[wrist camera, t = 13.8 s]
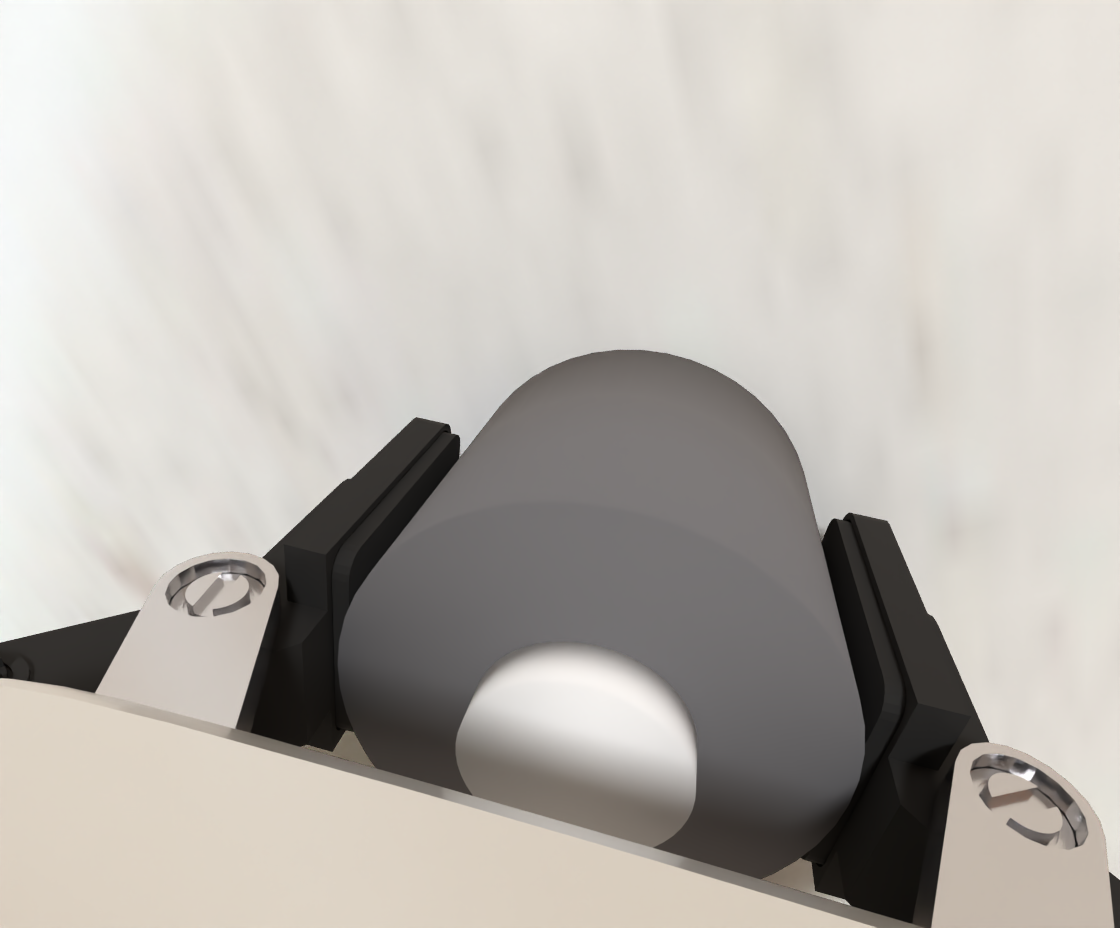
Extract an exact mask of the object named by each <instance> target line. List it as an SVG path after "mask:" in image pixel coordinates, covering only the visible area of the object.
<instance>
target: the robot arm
mask: <svg viewBox="0 0 1120 928" xmlns="http://www.w3.org/2000/svg"><path fill="white" fill-rule="evenodd" d="M459 452H460V437H459V435H456V434H451V429H450V426H449V424H444V423H440V422H435V421H431V420H426V419H422V418H417V417H416V418H415V419H413V420H412V421H411V422H410V423H409V424H408V425H407V426H406V427H405V428H404V429H403V430H402V431H401V432H400V433H398V434H397V435H396V436H395V437H394V438H393V439H392V440H391V441H390V442H389V443H388V444H387V445H386V446H385V447H384V448H383V449H382V450H381V451H380V452H379V453H378V454H377V455H376V456H375V457H374V458H372V459H371V460H370V461H369V462H368V463H367V464H366V465H365V466H364V467H363V468H362V469H361V470H360V471H359V472H358V473H357V474H356V475H355V476H354V477H353V478H352V479H346V480H345V481H343V482H342V483H341V484H340V485H339V486H338V487H336V488H335V489H334V490H333V491H332V492H331V493H330V494H329V495H328V496H327V497H326V498H325V499H324V500H323V501H322V502H321V503H320V504H319V505H317V506H316V507H315V508H314V509H313V510H312V511H311V512H310V513H309V514H308V515H307V516H306V517H305V518H304V519H303V520H302V521H301V522H300V523H298V524H297V525H296V526H295V527H294V528H293V529H292V530H291V531H290V532H289V533H288V534H287V535H286V536H285V537H284V538H283V539H282V540H280V541H279V542H278V543H277V544H276V545H275V546H274V547H273V548H272V549H271V550H270V551H269V552H268V553H267V554H266V555H265V556H264V557H263V558H261V557H258V556H255V555H252V554H249V553H240V552H220V553H211V554H207V555H203V556H199V557H194V558H192V559H190V560H187V561H185V562H183V563H180V564H178V565H176V566H175V567H173V568H172V569H171V570H169V571H168V572H166V573H165V574H163V575H162V577H161V578H160V579H159V580H158V581H157V583H156V584H155V585H154V586H153V588H152V590H151V592H150V594H149V596H148V597H147V599H146V601H145V603H144V605H143V607H142V608H141V610H138V611H133V612H129V613H125V614H121V615H116V616H112V617H108V618H104V619H99V620H95V621H91V622H87V623H82V624H78V625H74V626H70V627H65V628H61V629H57V630H53V631H48V632H44V633H40V634H36V635H31V636H27V637H23V638H19V639H14V640H10V641H6V642H2V643H0V928H1120V880H1119V879H1118V878H1116V877H1115V876H1114V875H1113V874H1111V873H1110V872H1109V869H1108V859H1107V849H1106V839H1105V835H1104V832H1103V829H1102V825H1101V822H1100V820H1099V818H1098V817H1097V815H1096V814H1095V812H1094V810H1093V809H1092V807H1091V806H1090V804H1089V803H1088V801H1087V800H1086V799H1085V798H1084V797H1083V796H1082V795H1081V794H1080V793H1079V792H1078V791H1077V790H1076V789H1075V787H1074V786H1073V785H1072V784H1071V783H1070V782H1068V781H1067V780H1066V779H1065V778H1063V777H1062V776H1061V775H1059V774H1058V773H1057V772H1056V771H1054V770H1053V769H1052V768H1051V767H1049V766H1047V765H1046V764H1044V763H1042V762H1040V761H1039V760H1037V759H1035V758H1034V757H1032V756H1030V755H1028V754H1026V753H1023V752H1021V751H1018V750H1016V749H1013V748H1011V747H1008V746H1005V745H999V744H994V743H989V740H988V738H987V736H986V734H985V731H984V729H983V727H982V724H981V722H980V720H979V718H978V715H977V713H976V711H975V708H974V706H973V704H972V702H971V699H970V697H969V695H968V692H967V690H966V688H965V686H964V683H963V681H962V679H961V676H960V674H959V672H958V670H957V667H956V665H955V663H954V660H953V658H952V656H951V654H950V651H949V649H948V647H947V644H946V642H945V640H944V638H943V635H942V633H941V631H940V628H939V626H938V624H937V622H936V621H935V619H934V618H933V616H931V615H929V614H927V611H926V609H925V607H924V604H923V602H922V600H921V597H920V595H919V593H918V590H917V588H916V585H915V583H914V581H913V578H912V576H911V574H910V571H909V569H908V567H907V564H906V562H905V560H904V557H903V555H902V553H901V550H900V548H899V546H898V543H897V541H896V539H895V536H894V534H893V532H892V529H891V527H890V524H889V523H888V522H887V521H885V520H880V519H876V518H871V517H867V516H862V515H858V514H853V513H848V514H847V515H846V516H845V517H844V519H843V520H839V519H833V520H832V521H831V522H830V524H829V526H828V528H827V530H826V533H825V536H824V538H823V541H822V543H821V544H822V548H823V552H824V556H825V560H826V564H827V568H828V572H829V576H830V580H831V584H832V588H833V592H834V596H835V600H836V604H837V608H838V612H839V616H840V620H841V625H842V629H843V633H844V637H845V641H846V645H847V649H848V653H849V657H850V661H851V665H852V669H853V673H854V677H855V681H856V685H857V689H858V693H859V697H860V703H861V708H862V714H863V719H864V724H865V755H864V760H863V765H862V770H861V774H860V779H859V782H858V785H857V787H856V789H855V792H854V794H853V796H852V799H851V801H850V804H849V805H848V807H847V808H846V810H845V811H844V813H843V814H842V816H841V817H840V819H839V821H838V822H837V824H836V825H835V826H834V827H833V828H832V830H831V831H830V832H829V833H828V834H827V835H826V836H825V837H824V838H823V839H822V840H821V841H820V842H819V843H818V844H817V845H816V846H815V847H814V848H812V849H811V850H810V851H808V852H807V853H806V854H804V855H803V856H802V857H801V858H802V859H804V860H807V861H811V862H812V869H813V877H814V885H815V891H817V892H821V893H824V894H828V895H831V896H835V897H838V898H842V899H845V900H846V901H847V902H848V903H849V904H850V905H851V906H849V905H846V904H842V903H839V902H835V901H832V900H829V899H825V898H822V897H818V896H815V895H812V894H808V893H805V892H801V891H798V890H795V889H791V888H788V887H784V886H781V885H778V884H774V883H771V882H768V881H764V880H761V879H757V878H754V877H751V876H747V875H744V874H740V873H737V872H734V871H730V870H727V869H723V868H720V867H717V866H713V865H710V864H706V863H703V862H700V861H696V860H693V859H689V858H686V857H683V856H679V855H676V854H672V853H669V852H665V851H662V850H658V849H655V848H651V847H648V846H645V845H641V844H638V843H634V842H631V841H627V840H624V839H620V838H617V837H614V836H610V835H607V834H603V833H600V832H596V831H593V830H589V829H586V828H582V827H579V826H576V825H572V824H569V823H565V822H562V821H558V820H555V819H551V818H548V817H544V816H541V815H537V814H534V813H530V812H527V811H524V810H520V809H517V808H513V807H510V806H506V805H503V804H499V803H496V802H492V801H489V800H485V799H482V798H478V797H475V796H471V795H468V794H464V793H461V792H457V791H454V790H450V789H447V788H444V787H440V786H437V785H433V784H430V783H426V782H422V781H419V780H415V779H412V778H408V777H405V776H401V775H398V774H394V773H391V772H387V771H383V770H380V769H376V768H373V767H369V766H366V765H362V764H359V763H355V762H352V761H348V760H345V759H341V758H337V757H334V756H330V755H327V754H323V753H320V752H316V751H313V750H309V749H306V748H302V747H301V746H304V745H310V746H314V747H317V748H321V749H324V750H328V751H331V752H333V750H334V748H335V747H336V745H337V743H338V742H339V740H340V739H341V737H342V735H343V734H344V732H345V730H348V731H352V732H354V730H353V727H352V725H351V723H350V720H349V718H348V715H347V713H346V709H345V706H344V702H343V698H342V694H341V690H340V683H339V673H338V651H339V639H340V635H341V631H342V627H343V623H344V619H345V616H346V613H347V611H348V609H349V607H350V604H351V602H352V600H353V598H354V596H355V594H356V592H357V591H358V589H359V588H360V586H361V585H362V583H363V582H364V581H365V579H366V578H367V576H368V575H369V573H370V572H371V571H372V569H373V568H374V567H375V566H376V564H377V563H378V562H379V560H380V559H381V558H382V557H383V555H384V554H385V553H386V551H387V550H388V549H389V548H390V546H391V545H392V544H393V543H394V541H395V540H396V539H397V537H398V536H399V535H400V534H401V532H402V531H403V530H404V528H405V527H406V526H407V525H408V523H409V522H410V521H411V520H412V518H413V517H414V516H415V514H416V513H417V512H418V511H419V509H420V508H421V507H422V505H423V504H424V503H425V502H426V500H427V499H428V498H429V496H430V495H431V494H432V493H433V491H434V490H435V489H436V488H437V486H438V485H439V484H440V482H441V481H442V480H443V479H444V477H445V476H446V475H447V473H448V472H449V471H450V470H451V468H452V467H453V466H454V465H455V463H456V462H457V461H458V459H459Z"/></svg>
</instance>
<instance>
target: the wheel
mask: <svg viewBox="0 0 1120 928" xmlns="http://www.w3.org/2000/svg"><path fill="white" fill-rule="evenodd" d="M338 673H339V683H340V690H341V694H342V698H343V702H344V706H345V709H346V713H347V715H348V718H349V720H350V723H351V725H352V727H353V730H354V732H355V735H356V737H357V738H358V740H359V742H360V744H361V745H362V747H363V749H364V751H365V752H366V754H367V756H368V758H369V759H370V760H371V762H372V763H373V764H374V766H375V767H376V769H380V770H383V771H387V772H391V773H394V774H398V775H401V776H405V777H408V778H412V779H415V780H419V781H422V782H426V783H430V784H433V785H437V786H440V787H444V788H447V789H450V790H454V791H457V792H461V793H464V794H468V795H471V796H475V797H478V798H482V799H485V800H489V801H492V802H496V803H499V804H503V805H506V806H510V807H513V808H517V809H520V810H524V811H527V812H530V813H534V814H537V815H541V816H544V817H548V818H551V819H555V820H558V821H562V822H565V823H569V824H572V825H576V826H579V827H582V828H586V829H589V830H593V831H596V832H600V833H603V834H607V835H610V836H614V837H617V838H620V839H624V840H627V841H631V842H634V843H638V844H641V845H645V846H648V847H651V848H655V849H658V850H662V851H665V852H669V853H672V854H676V855H679V856H683V857H686V858H689V859H693V860H696V861H700V862H703V863H706V864H710V865H713V866H717V867H720V868H723V869H727V870H730V871H734V872H737V873H740V874H744V875H747V876H751V877H754V878H757V879H762V878H765V877H767V876H769V875H772V874H774V873H776V872H777V871H779V870H781V869H783V868H784V867H786V866H788V865H790V864H792V863H793V862H795V861H797V860H798V859H799V858H801V857H802V856H803V855H804V854H806V853H807V852H808V851H810V850H811V849H812V848H814V847H815V846H816V845H817V844H818V843H819V842H820V841H821V840H822V839H823V838H824V837H825V836H826V835H827V834H828V833H829V832H830V831H831V830H832V828H833V827H834V826H835V825H836V824H837V822H838V821H839V819H840V817H841V816H842V814H843V813H844V811H845V810H846V808H847V807H848V805H849V804H850V801H851V799H852V796H853V794H854V792H855V789H856V787H857V785H858V782H859V779H860V774H861V770H862V765H863V760H864V755H865V724H864V719H863V714H862V708H861V703H860V697H859V693H858V689H857V685H856V681H855V677H854V673H853V669H852V665H851V661H850V657H849V653H848V649H847V645H846V641H845V637H844V633H843V629H842V625H841V620H840V616H839V612H838V608H837V604H836V600H835V596H834V592H833V588H832V584H831V580H830V576H829V572H828V568H827V564H826V560H825V556H824V552H823V548H822V544H821V540H820V535H819V531H818V527H817V523H816V519H815V515H814V511H813V507H812V503H811V499H810V495H809V491H808V487H807V483H806V479H805V475H804V471H803V468H802V466H801V463H800V460H799V457H798V454H797V452H796V450H795V448H794V446H793V444H792V442H791V441H790V439H789V437H788V435H787V433H786V431H785V430H784V429H783V427H782V426H781V425H780V423H779V422H778V421H777V419H776V418H775V417H774V415H773V414H772V413H771V412H770V411H769V410H768V409H767V408H766V407H765V406H764V405H763V404H762V403H761V402H760V401H759V400H758V399H757V398H756V397H755V396H754V395H752V394H751V393H750V392H749V391H747V390H746V389H745V388H743V387H742V386H741V385H739V384H738V383H737V382H735V381H734V380H732V379H730V378H728V377H726V376H725V375H723V374H721V373H719V372H718V371H716V370H714V369H712V368H709V367H707V366H704V365H702V364H700V363H697V362H695V361H692V360H689V359H685V358H682V357H678V356H674V355H670V354H667V353H659V352H652V351H645V350H613V351H605V352H597V353H591V354H587V355H583V356H579V357H576V358H572V359H569V360H566V361H564V362H562V363H559V364H557V365H554V366H552V367H549V368H548V369H546V370H544V371H542V372H541V373H539V374H537V375H536V376H534V377H532V378H531V379H529V380H528V381H527V382H525V383H524V384H523V385H522V386H520V387H519V388H518V389H516V390H515V391H514V392H513V393H512V394H511V395H510V396H509V397H508V398H507V399H506V400H505V402H504V403H503V404H502V405H501V406H500V407H499V408H498V410H497V411H496V412H495V413H494V415H493V416H492V417H491V418H490V420H489V421H488V422H487V424H486V425H485V426H484V427H483V429H482V430H481V431H480V433H479V434H478V435H477V436H476V438H475V439H474V440H473V441H472V443H471V444H470V445H469V447H468V448H467V449H466V450H465V452H464V453H463V454H462V456H461V457H460V458H459V459H458V461H457V462H456V463H455V465H454V466H453V467H452V468H451V470H450V471H449V472H448V473H447V475H446V476H445V477H444V479H443V480H442V481H441V482H440V484H439V485H438V486H437V488H436V489H435V490H434V491H433V493H432V494H431V495H430V496H429V498H428V499H427V500H426V502H425V503H424V504H423V505H422V507H421V508H420V509H419V511H418V512H417V513H416V514H415V516H414V517H413V518H412V520H411V521H410V522H409V523H408V525H407V526H406V527H405V528H404V530H403V531H402V532H401V534H400V535H399V536H398V537H397V539H396V540H395V541H394V543H393V544H392V545H391V546H390V548H389V549H388V550H387V551H386V553H385V554H384V555H383V557H382V558H381V559H380V560H379V562H378V563H377V564H376V566H375V567H374V568H373V569H372V571H371V572H370V573H369V575H368V576H367V578H366V579H365V581H364V582H363V583H362V585H361V586H360V588H359V589H358V591H357V592H356V594H355V596H354V598H353V600H352V602H351V604H350V607H349V609H348V611H347V613H346V616H345V619H344V623H343V627H342V631H341V635H340V639H339V651H338Z"/></svg>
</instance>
